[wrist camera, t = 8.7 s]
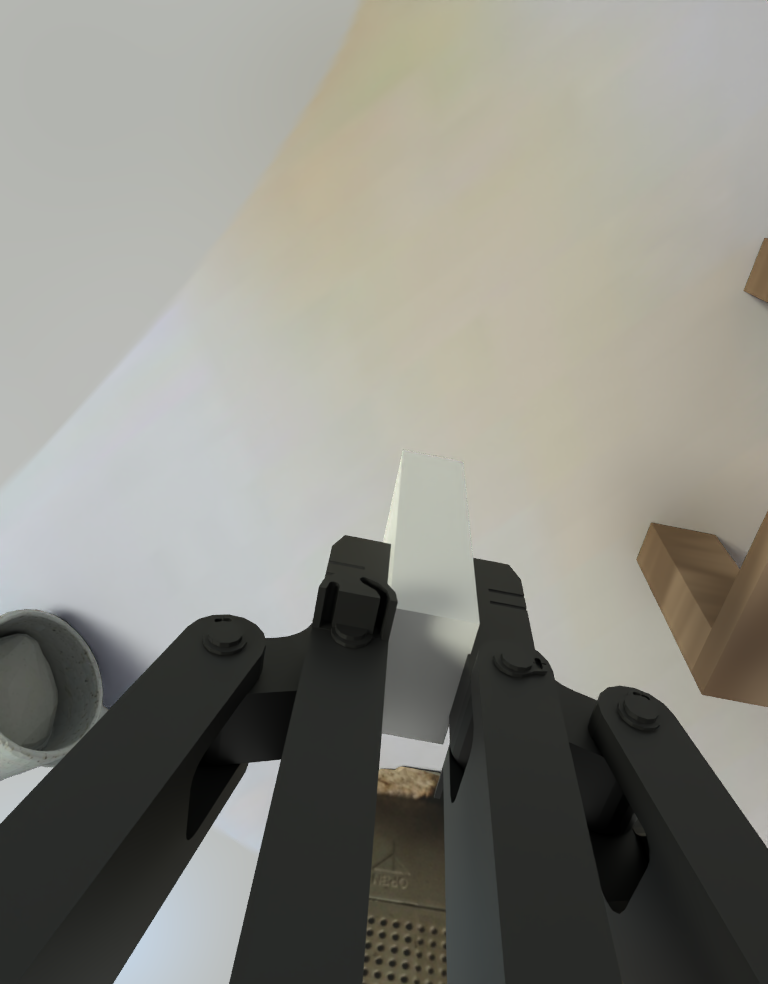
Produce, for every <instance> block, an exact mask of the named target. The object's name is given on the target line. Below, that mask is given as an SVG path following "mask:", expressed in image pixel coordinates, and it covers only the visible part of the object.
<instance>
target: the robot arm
mask: <svg viewBox="0 0 768 984" xmlns="http://www.w3.org/2000/svg"><path fill="white" fill-rule="evenodd" d="M448 726H449V729H450V745H449V748H448V751H447V754H446V758H445V761H444V764H443V767H442V771H441V774H440V777H439V780H438V784H437V787H436V791H435V795H434V798H437V799H440V797H441V794H442V791H443V789H444V842H445V899H446V957H447V984H622V981H623V984H768V848H767V847H766V845H765V844H764V843H763V841H762V840H761V838H760V837H759V835H758V834H757V833H756V831H755V830H754V828H753V827H752V825H751V824H750V823H749V821H748V820H747V818H746V817H745V815H744V814H743V813H742V811H741V810H740V808H739V807H738V806H737V804H736V803H735V801H734V800H733V798H732V797H731V796H730V794H729V793H728V791H727V790H726V788H725V787H724V786H723V784H722V783H721V781H720V780H719V778H718V777H717V776H716V774H715V773H714V771H713V770H712V768H711V767H710V766H709V764H708V763H707V761H706V760H705V758H704V757H703V756H702V754H701V753H700V751H699V750H698V748H697V747H696V746H695V744H694V743H693V741H692V740H691V739H690V737H689V736H688V734H687V733H686V731H685V730H684V729H683V727H682V726H681V724H680V723H679V721H678V720H677V719H676V717H675V716H674V714H673V713H672V712H671V711H670V710H669V709H668V708H667V707H666V706H665V705H664V704H663V703H662V702H660V701H659V700H657V699H656V698H654V697H653V696H651V695H650V694H648V693H645V692H643V691H640V690H638V689H635V688H631V687H625V686H615V687H609V688H607V689H605V690H604V691H603V692H601V693H600V695H599V698H598V700H595V699H592V698H590V697H587V696H585V695H583V694H580V693H578V692H575V691H573V690H571V689H569V688H567V687H565V686H563V685H561V684H560V683H559V682H557V681H556V680H555V678H554V674H553V671H552V668H551V666H550V664H549V662H548V661H547V660H546V659H545V658H544V657H543V656H542V655H541V654H540V653H539V652H538V651H536V650H535V647H534V642H533V637H532V632H531V627H530V622H529V618H528V613H527V611H526V603H525V598H524V593H523V588H522V583H521V579H520V578H519V577H518V576H517V574H516V573H515V572H514V571H513V569H512V568H511V567H510V566H509V565H508V564H502V563H497V562H492V561H487V560H481V559H476V558H473V553H472V543H471V533H470V523H469V513H468V503H467V493H466V483H465V473H464V463H463V461H459V460H454V459H449V458H444V457H439V456H434V455H429V454H424V453H418V452H413V451H408V450H403V452H402V457H401V461H400V466H399V470H398V475H397V480H396V484H395V489H394V493H393V498H392V503H391V507H390V512H389V517H388V521H387V526H386V530H385V535H384V540H383V542H378V541H373V540H367V539H362V538H357V537H352V536H347V535H345V536H343V537H342V538H341V539H340V540H339V541H338V542H336V543H335V544H334V545H333V546H332V549H331V554H330V558H329V563H328V567H327V571H326V575H325V579H324V580H323V581H322V583H321V584H320V586H319V589H318V595H317V601H316V606H315V612H314V618H313V623H312V624H311V625H310V626H309V627H308V628H307V629H305V630H304V631H302V632H300V633H298V634H295V635H291V636H288V637H279V638H265V636H264V633H263V632H262V631H261V630H260V628H259V627H258V626H257V625H256V624H254V623H252V622H250V621H249V620H247V619H245V618H242V617H237V616H233V615H211V616H208V617H204V618H201V619H198V620H197V621H195V622H194V623H192V624H191V625H189V626H188V627H187V628H186V629H185V630H184V631H183V632H182V633H181V634H180V635H179V636H178V637H177V638H176V640H175V641H174V642H173V643H172V644H171V645H170V646H169V647H168V648H167V649H166V650H165V651H164V652H163V653H162V654H161V655H160V656H159V657H158V658H157V660H156V661H155V662H154V663H153V664H152V665H151V666H150V667H149V668H148V669H147V670H146V671H145V672H144V673H143V674H142V675H141V676H140V677H139V678H138V680H137V681H136V682H135V683H134V684H133V685H132V686H131V687H130V688H129V689H128V690H127V691H126V692H125V693H124V694H123V695H122V696H121V697H120V698H119V700H118V701H117V702H116V703H115V704H114V705H113V706H112V707H111V708H110V709H109V710H108V711H107V712H106V713H105V714H104V715H103V716H102V717H101V718H100V720H99V721H98V722H97V723H96V724H95V725H94V726H93V727H92V728H91V729H90V730H89V731H88V732H87V733H86V734H85V735H84V736H83V737H82V738H81V740H80V741H79V742H78V743H77V744H76V745H75V746H74V747H73V748H72V749H71V750H70V751H69V752H68V753H67V754H66V755H65V756H64V757H63V758H62V760H61V761H60V762H59V763H58V764H57V765H56V766H55V767H54V768H53V769H52V770H51V771H50V772H49V773H48V774H47V775H46V776H45V777H44V779H43V780H42V781H41V782H40V783H39V784H38V785H37V786H36V787H35V788H34V789H33V790H32V791H31V792H30V793H29V794H28V796H26V797H25V798H24V800H23V801H22V802H21V803H20V804H19V805H18V806H17V807H16V808H15V809H14V810H13V811H12V812H11V813H10V814H9V815H8V816H7V817H6V819H5V820H4V821H3V822H2V823H1V824H0V984H113V983H114V981H115V980H116V978H117V976H118V975H119V973H120V972H121V970H122V968H123V967H124V965H125V963H126V962H127V960H128V959H129V957H130V956H131V954H132V952H133V950H134V949H135V947H136V946H137V944H138V943H139V941H140V939H141V938H142V936H143V935H144V933H145V931H146V930H147V928H148V926H149V925H150V924H151V922H152V920H153V919H154V917H155V915H156V914H157V912H158V911H159V909H160V908H161V906H162V904H163V903H164V901H165V900H166V898H167V896H168V895H169V893H170V892H171V890H172V888H173V887H174V885H175V884H176V882H177V880H178V878H179V877H180V876H181V874H182V872H183V870H184V869H185V868H186V866H187V864H188V863H189V861H190V860H191V858H192V856H193V855H194V853H195V852H196V850H197V848H198V847H199V845H200V844H201V842H202V840H203V839H204V837H205V836H206V834H207V832H208V831H209V829H210V828H211V826H212V824H213V823H214V821H215V820H216V818H217V816H218V815H219V813H220V812H221V810H222V808H223V807H224V805H225V804H226V802H227V800H228V799H229V797H230V796H231V794H232V792H233V791H234V789H235V788H236V786H237V784H238V783H239V781H240V780H241V778H242V776H243V775H244V773H245V772H246V769H247V766H248V763H249V762H260V761H270V760H280V759H281V762H280V767H279V771H278V775H277V780H276V784H275V788H274V792H273V797H272V801H271V805H270V810H269V814H268V818H267V823H266V827H265V831H264V836H263V840H262V844H261V849H260V853H259V857H258V861H257V866H256V870H255V874H254V879H253V883H252V887H251V892H250V896H249V900H248V905H247V909H246V913H245V918H244V922H243V926H242V931H241V935H240V939H239V944H238V948H237V952H236V957H235V961H234V965H233V969H232V974H231V978H230V982H229V984H363V971H364V958H365V945H366V932H367V919H368V905H369V892H370V879H371V866H372V853H373V840H374V827H375V813H376V800H377V787H378V774H379V761H380V748H381V734H382V733H383V734H388V735H394V736H399V737H405V738H410V739H416V740H421V741H427V742H432V743H438V744H443V743H444V740H445V736H446V733H447V730H448Z"/></svg>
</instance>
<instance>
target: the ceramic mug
mask: <svg viewBox="0 0 768 984" xmlns="http://www.w3.org/2000/svg"><path fill="white" fill-rule="evenodd" d="M102 699H103V688H102V679H101V675H100V671H99V668H98V665H97V662H96V659H95V657H94V656H93V654H92V652H91V650H90V648H89V646H88V645H87V644H86V642H85V641H84V640H83V638H82V637H81V636H80V634H78V633H77V632H76V631H75V630H74V629H73V628H72V627H71V626H70V625H69V624H68V623H67V622H65V621H64V620H62V619H60V618H59V617H57V616H55V615H53V614H50V613H47V612H43V611H40V610H31V609H24V610H16V611H11V612H7V613H5V614H3V615H1V616H0V781H1V780H3V779H6V778H8V777H11V776H14V775H18V774H21V773H23V772H26V771H29V770H31V769H34V768H37V767H40V766H44V767H55V766H56V765H57V764H58V763H59V762H60V761H61V760H62V758H63V757H64V756H65V755H66V754H67V753H68V752H69V751H70V750H71V749H72V748H73V747H74V746H75V745H76V744H77V743H78V742H79V741H80V740H81V738H82V737H83V736H84V735H85V734H86V733H87V732H88V731H89V730H90V729H91V728H92V727H93V726H94V725H95V724H96V723H97V722H98V721H99V720H100V718H101V717H102V716H103V715H104V714H105V713H106V712H107V711H108V709H107V708H106V707H104V706H103V705H102V702H103V701H102Z"/></svg>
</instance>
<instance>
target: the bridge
mask: <svg viewBox="0 0 768 984" xmlns="http://www.w3.org/2000/svg"><path fill="white" fill-rule="evenodd" d="M744 291H745V292H747V293H749V294H751V295H753V296H755V297H757V298H759V299H761V300H763V301H765V302H768V239H767V238H764V241H763V243H762V246H761V248H760V251H759V253H758V256H757V258H756V261H755V263H754V266H753V268H752V271H751V273H750V276H749V278H748V281H747V283H746V286H745V288H744ZM637 562H638V564H639V566H640V568H641V570H642V572H643V574H644V576H645V578H646V580H647V582H648V585H649V587H650V589H651V591H652V593H653V595H654V597H655V599H656V601H657V603H658V605H659V607H660V609H661V611H662V613H663V615H664V618H665V620H666V622H667V624H668V626H669V628H670V630H671V632H672V634H673V636H674V638H675V640H676V642H677V644H678V646H679V648H680V651H681V653H682V655H683V657H684V659H685V661H686V663H687V665H688V667H689V669H690V671H691V673H692V675H693V677H694V679H695V681H696V684H697V686H698V688H699V690H700V692H701V694H702V695H706V696H712V697H717V698H722V699H728V700H733V701H738V702H743V703H749V704H754V705H759V706H764V707H768V511H767V514H766V516H765V518H764V520H763V522H762V524H761V526H760V528H759V530H758V533H757V535H756V537H755V539H754V541H753V543H752V545H751V547H750V549H749V551H748V554H747V556H746V558H745V560H744V562H743V564H742V566H741V568H740V569H739V568H738V566H737V565H736V563H735V562H734V561H733V559H732V558H731V556H730V555H729V554H728V552H727V551H726V549H725V548H724V547H723V545H722V544H721V542H720V541H719V540H718V538H717V537H716V535H712V534H707V533H702V532H697V531H692V530H687V529H681V528H676V527H671V526H666V525H661V524H656V523H651V524H650V527H649V529H648V532H647V534H646V537H645V539H644V542H643V544H642V547H641V550H640V552H639V555H638V557H637Z"/></svg>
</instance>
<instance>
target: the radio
mask: <svg viewBox="0 0 768 984" xmlns="http://www.w3.org/2000/svg"><path fill="white" fill-rule="evenodd" d="M440 774H441V773H439V772H433V771H427V770H420V769H414V768H408V767H398V768H397V769H395V770H391V769H380V770H379V774H378V787H377V800H376V813H375V827H374V840H373V853H372V866H371V879H370V892H369V905H368V919H367V932H366V945H365V958H364V971H363V984H447V957H446V899H445V842H444V789H443V791H442V794H441V797H440V799H437V798H434V795H435V791H436V787H437V784H438V780H439V777H440ZM622 984H623V981H622Z"/></svg>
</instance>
